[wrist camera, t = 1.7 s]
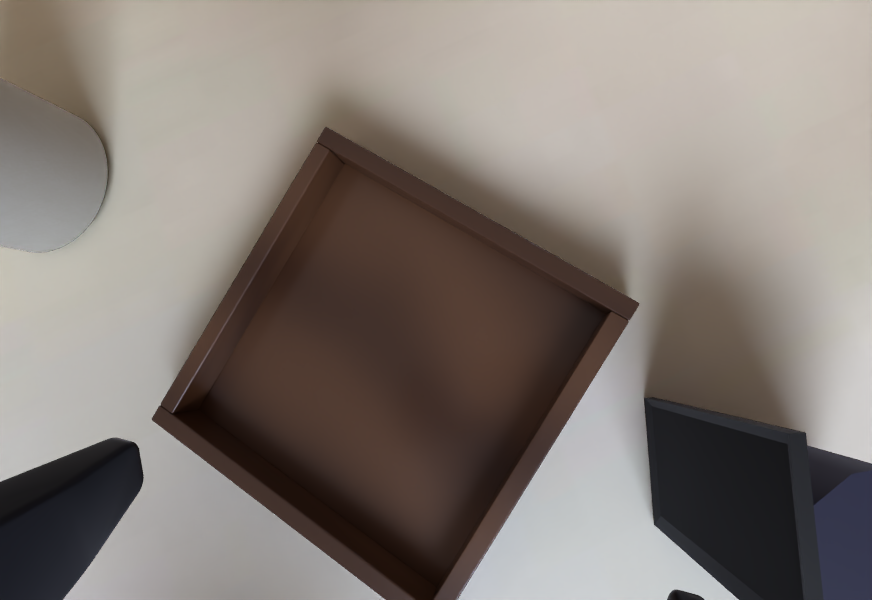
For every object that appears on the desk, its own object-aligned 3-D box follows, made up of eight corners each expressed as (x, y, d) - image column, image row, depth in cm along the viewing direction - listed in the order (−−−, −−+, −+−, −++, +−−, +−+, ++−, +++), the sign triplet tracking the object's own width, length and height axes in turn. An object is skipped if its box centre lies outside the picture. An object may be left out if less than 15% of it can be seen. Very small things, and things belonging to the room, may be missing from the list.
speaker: (606, 524, 23) (708, 659, 13) (644, 393, 23) (773, 422, 13) (789, 588, 22) (1056, 789, 12) (825, 451, 23) (1113, 530, 12)
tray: (445, 607, 24) (433, 637, 22) (186, 413, 27) (150, 419, 25) (629, 308, 24) (640, 303, 21) (345, 146, 27) (325, 125, 25)
